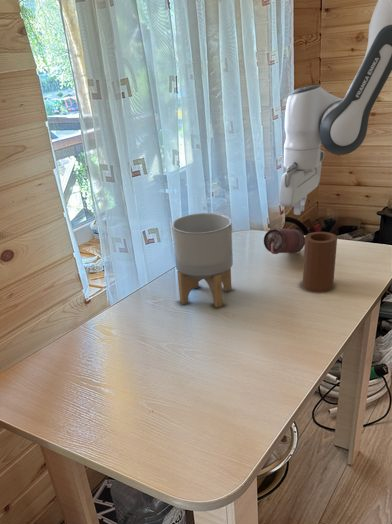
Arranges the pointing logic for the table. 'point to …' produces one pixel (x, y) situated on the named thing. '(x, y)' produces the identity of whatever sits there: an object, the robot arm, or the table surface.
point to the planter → (203, 253)
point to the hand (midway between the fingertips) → (298, 213)
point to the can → (284, 240)
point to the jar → (319, 261)
